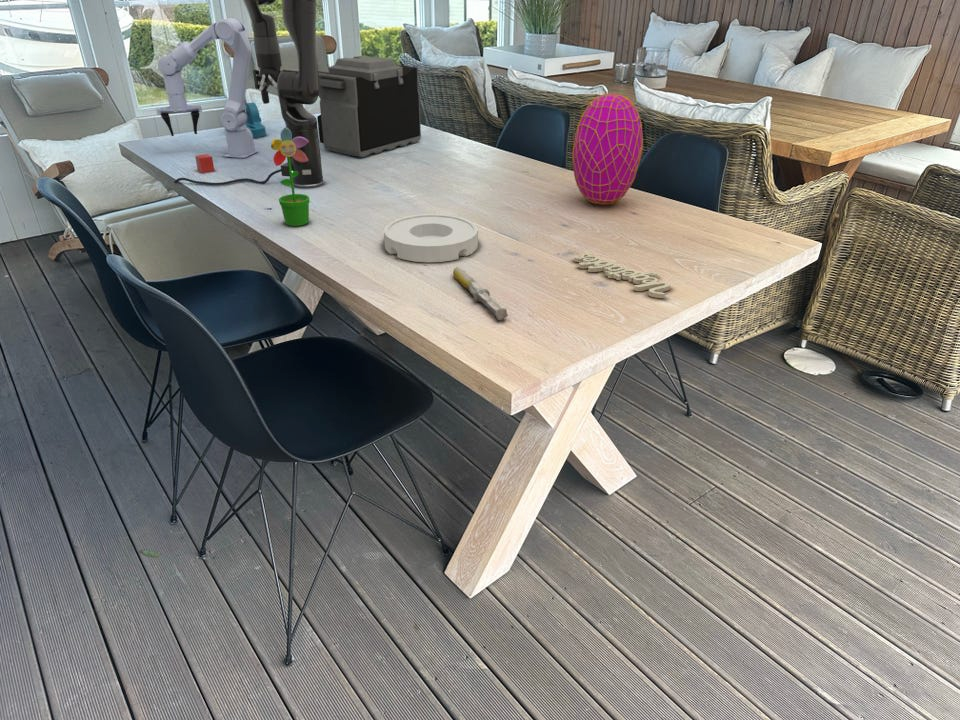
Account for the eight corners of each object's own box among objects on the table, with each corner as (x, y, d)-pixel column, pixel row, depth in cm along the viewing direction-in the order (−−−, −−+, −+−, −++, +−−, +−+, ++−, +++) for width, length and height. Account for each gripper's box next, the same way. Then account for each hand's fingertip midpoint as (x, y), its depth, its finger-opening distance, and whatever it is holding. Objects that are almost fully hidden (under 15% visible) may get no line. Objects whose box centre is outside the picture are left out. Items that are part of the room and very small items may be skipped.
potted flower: (284, 229, 179) (270, 130, 166) (277, 220, 185) (263, 124, 172) (319, 224, 183) (308, 127, 170) (311, 215, 188) (300, 121, 176)
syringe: (449, 274, 155) (449, 263, 153) (465, 272, 156) (464, 260, 154) (490, 323, 135) (491, 310, 133) (508, 319, 136) (508, 307, 134)
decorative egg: (611, 217, 189) (624, 103, 174) (555, 202, 201) (562, 94, 185) (647, 202, 202) (662, 94, 186) (592, 188, 213) (602, 86, 198)
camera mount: (228, 130, 277) (223, 103, 272) (254, 127, 282) (250, 100, 277) (243, 139, 265) (238, 110, 259) (269, 136, 270) (266, 108, 264)
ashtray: (391, 227, 181) (390, 212, 179) (479, 229, 180) (479, 214, 178) (377, 261, 161) (376, 245, 159) (476, 263, 160) (476, 247, 158)
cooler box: (383, 133, 276) (378, 52, 261) (425, 141, 265) (422, 56, 250) (314, 150, 251) (304, 61, 235) (358, 160, 240) (350, 67, 224)
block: (209, 168, 229) (207, 153, 227) (214, 171, 226) (212, 156, 224) (197, 170, 227) (195, 155, 224) (202, 173, 224) (199, 158, 222)
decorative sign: (686, 282, 150) (660, 295, 144) (686, 286, 150) (659, 300, 144) (592, 249, 166) (565, 259, 160) (592, 253, 167) (565, 263, 161)
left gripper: (154, 97, 229) (163, 138, 236) (199, 94, 235) (207, 135, 242) (152, 93, 235) (161, 134, 242) (197, 91, 240) (204, 131, 247)
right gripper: (292, 51, 217) (299, 105, 225) (260, 48, 223) (268, 100, 232) (274, 54, 212) (282, 109, 220) (242, 50, 218) (251, 104, 227)
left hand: (184, 134), depth 242 cm, fingers open, 7 cm apart
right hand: (275, 104), depth 226 cm, fingers open, 8 cm apart
